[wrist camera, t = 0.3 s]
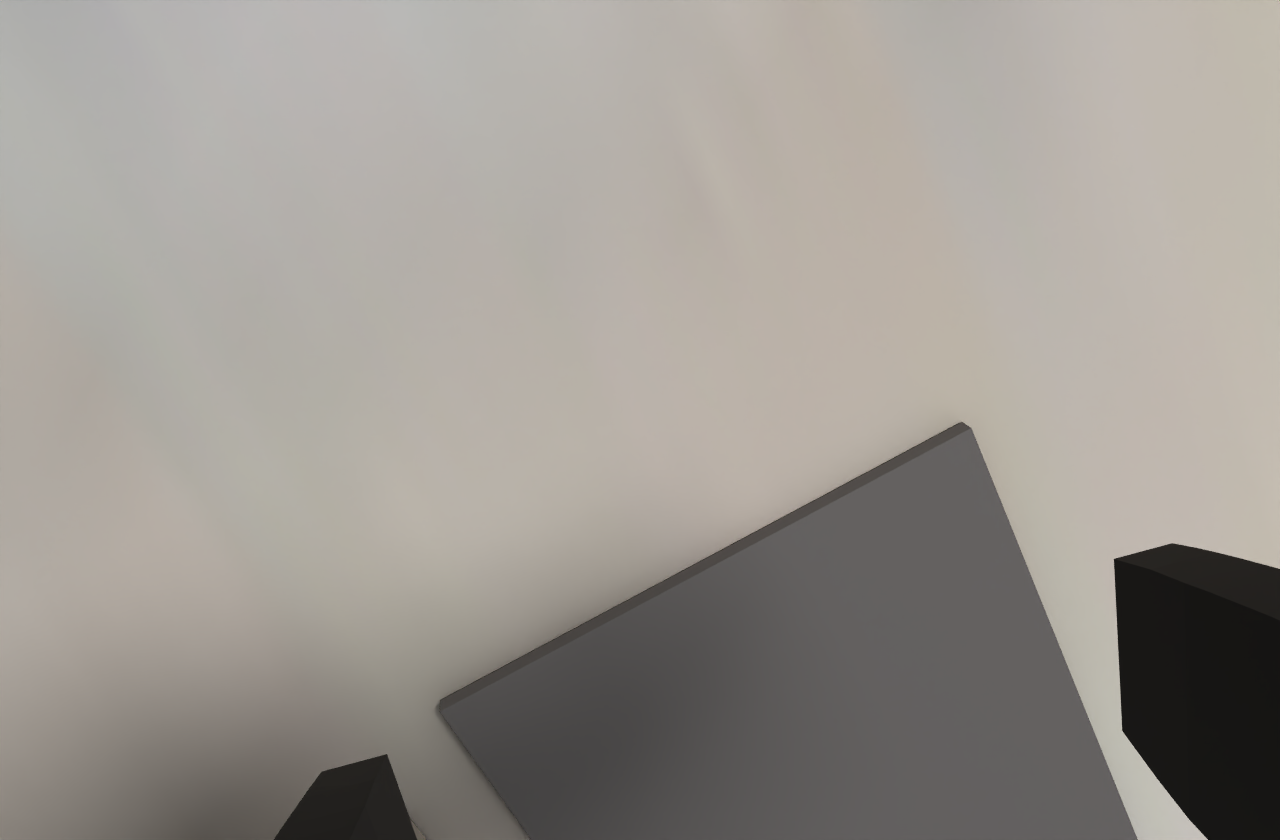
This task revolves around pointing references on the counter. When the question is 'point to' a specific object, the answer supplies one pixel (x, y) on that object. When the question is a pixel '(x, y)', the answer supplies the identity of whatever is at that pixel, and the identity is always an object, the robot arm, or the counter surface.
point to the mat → (812, 686)
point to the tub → (417, 832)
